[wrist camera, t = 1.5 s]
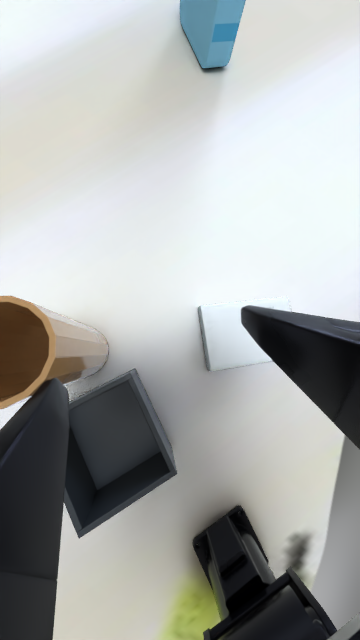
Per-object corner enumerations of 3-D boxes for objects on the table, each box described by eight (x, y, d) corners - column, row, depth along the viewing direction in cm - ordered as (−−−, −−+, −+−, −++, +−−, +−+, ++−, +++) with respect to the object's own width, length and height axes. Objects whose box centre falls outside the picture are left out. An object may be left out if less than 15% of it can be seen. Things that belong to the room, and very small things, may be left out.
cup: (116, 362, 23) (73, 375, 10) (68, 386, 22) (-51, 434, 9) (96, 319, 23) (31, 279, 11) (48, 340, 22) (-91, 324, 9)
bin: (171, 447, 22) (177, 474, 17) (96, 494, 20) (78, 538, 16) (134, 368, 23) (130, 372, 18) (59, 406, 21) (31, 423, 16)
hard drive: (197, 308, 25) (281, 298, 27) (207, 370, 24) (294, 356, 26) (200, 305, 24) (289, 295, 26) (211, 372, 23) (303, 356, 25)
